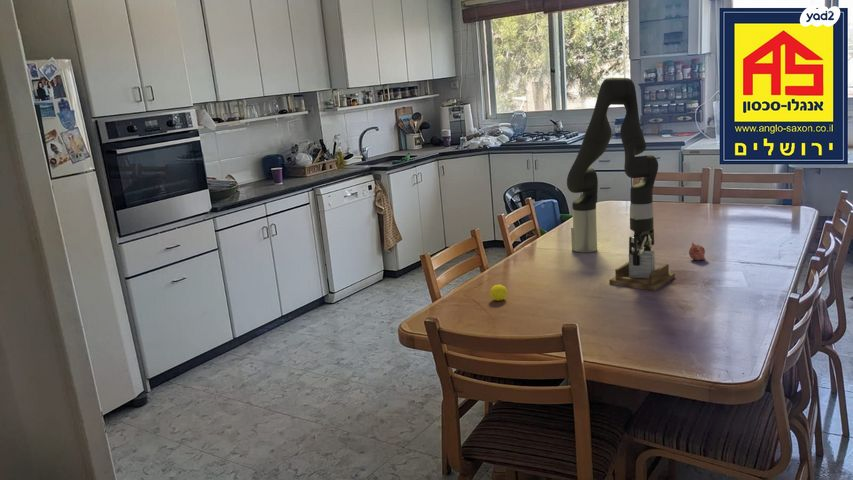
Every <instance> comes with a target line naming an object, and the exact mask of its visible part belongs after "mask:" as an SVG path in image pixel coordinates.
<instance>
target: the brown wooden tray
mask: <svg viewBox="0 0 853 480" xmlns="http://www.w3.org/2000/svg"><path fill="white" fill-rule="evenodd" d="M669 267H670V266H669V263H664V264H663V265H661V266H660V267H658V268H655V271H653V272H652V273H650V274H649V279H648V278H629V261H627V262H625V263H624V264H623V265H620V266H618V267H616V268H615V269H614V270H615V276H614V277H612V278H609V285H613V286H614V285H615V286H620V287H627V288H634V289H639V290H645V291H646V290H647V291H653V292H656V291H657V290H658V289H660V288H662V287H663V286H665V285H666V284H668V283H669V282H670V281H671V280H673V279H674V278H675V276H676V273H675V272H670V271H669V269H670V268H669Z"/></svg>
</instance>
